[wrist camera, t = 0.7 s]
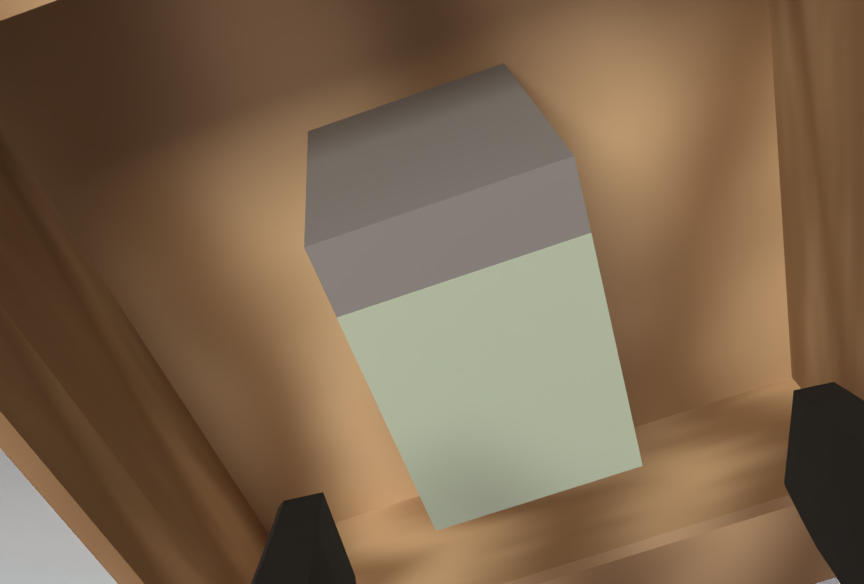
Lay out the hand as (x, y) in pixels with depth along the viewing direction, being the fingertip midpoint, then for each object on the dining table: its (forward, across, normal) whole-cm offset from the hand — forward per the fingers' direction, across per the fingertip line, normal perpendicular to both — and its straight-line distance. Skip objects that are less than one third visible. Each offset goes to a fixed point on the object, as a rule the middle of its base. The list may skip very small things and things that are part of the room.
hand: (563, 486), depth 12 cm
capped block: (+10, 0, +1) cm, 10 cm away
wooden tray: (+10, -2, +3) cm, 11 cm away
